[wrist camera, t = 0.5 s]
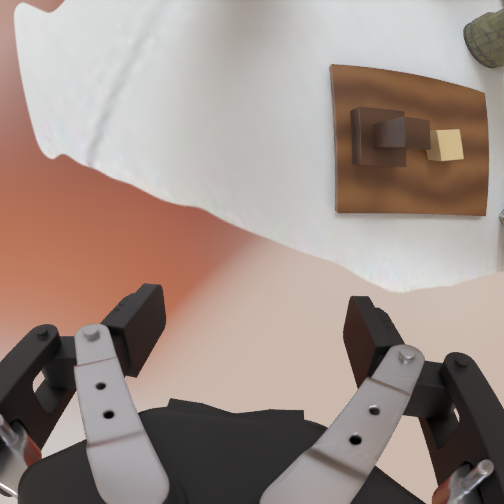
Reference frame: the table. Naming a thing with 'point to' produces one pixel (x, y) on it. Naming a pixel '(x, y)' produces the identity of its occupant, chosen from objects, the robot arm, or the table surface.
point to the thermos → (487, 39)
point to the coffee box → (502, 217)
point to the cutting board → (417, 165)
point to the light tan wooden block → (445, 145)
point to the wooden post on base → (386, 136)
